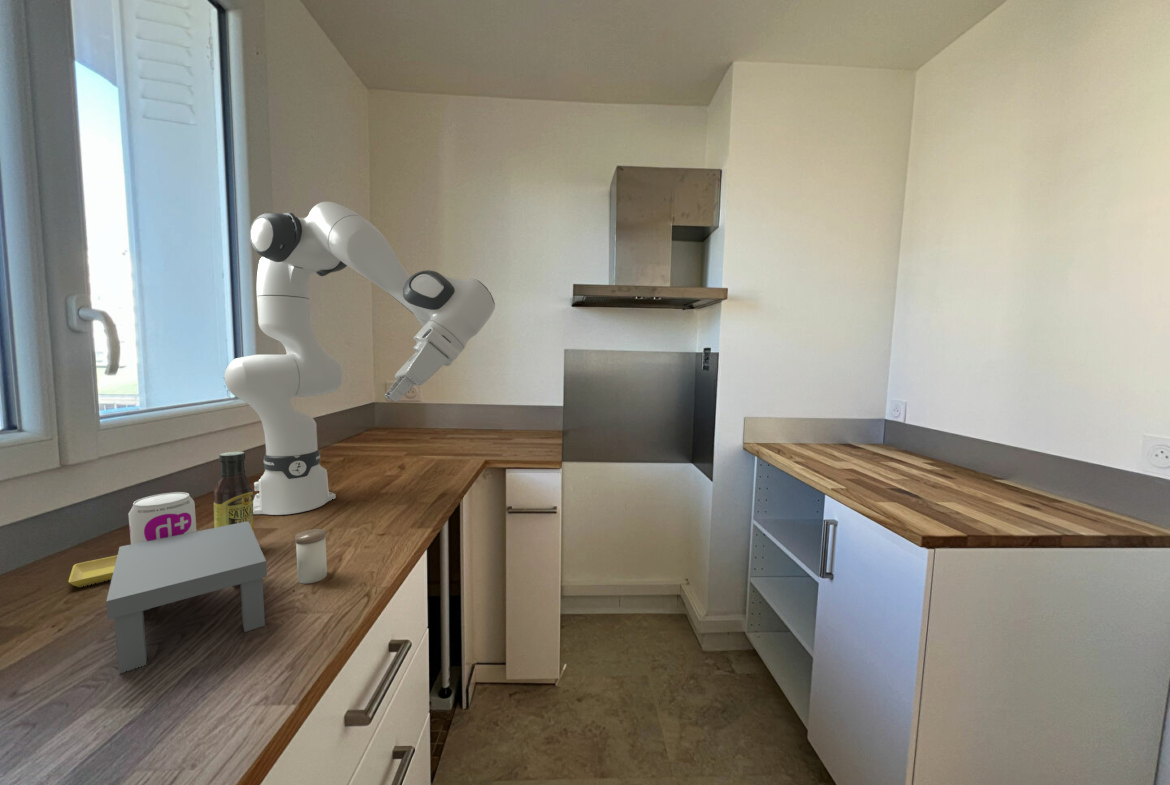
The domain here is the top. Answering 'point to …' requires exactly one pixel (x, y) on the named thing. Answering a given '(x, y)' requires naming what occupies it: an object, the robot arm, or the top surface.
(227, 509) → the sauce bottle
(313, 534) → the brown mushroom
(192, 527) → the supplement can
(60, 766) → the top surface
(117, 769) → the top surface
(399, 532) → the top surface
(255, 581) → the footstool
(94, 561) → the yellow shallow tray
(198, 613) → the top surface
